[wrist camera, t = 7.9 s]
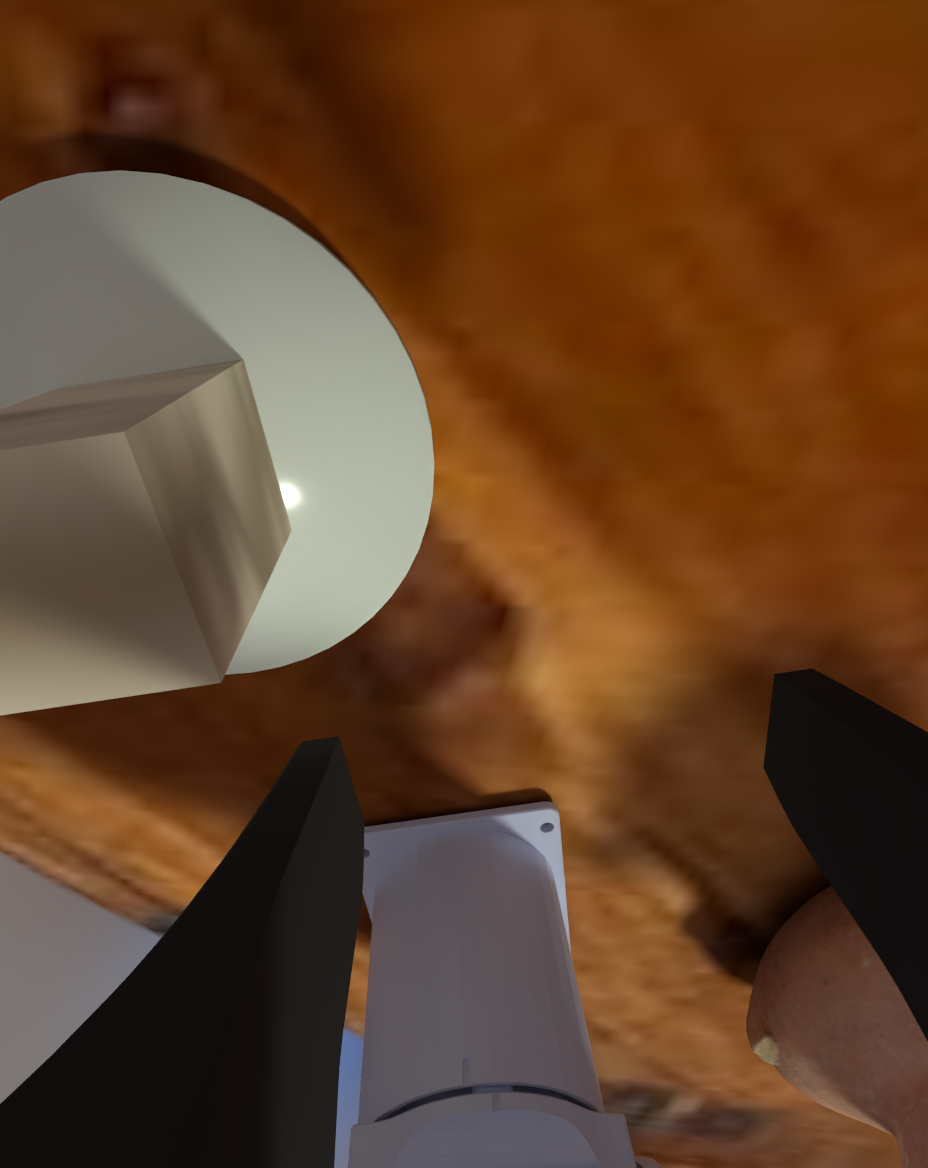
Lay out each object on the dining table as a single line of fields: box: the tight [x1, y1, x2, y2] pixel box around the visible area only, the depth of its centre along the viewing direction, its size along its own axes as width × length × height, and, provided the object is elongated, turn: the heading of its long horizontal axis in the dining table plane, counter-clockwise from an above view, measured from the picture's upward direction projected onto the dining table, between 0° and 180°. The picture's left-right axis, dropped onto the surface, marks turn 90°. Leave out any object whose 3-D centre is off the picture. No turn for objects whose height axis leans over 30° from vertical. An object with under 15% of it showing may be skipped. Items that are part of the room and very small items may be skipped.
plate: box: [0, 170, 434, 675], centre depth 17 cm, size 13×13×1 cm
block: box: [0, 360, 292, 715], centre depth 13 cm, size 4×4×7 cm
